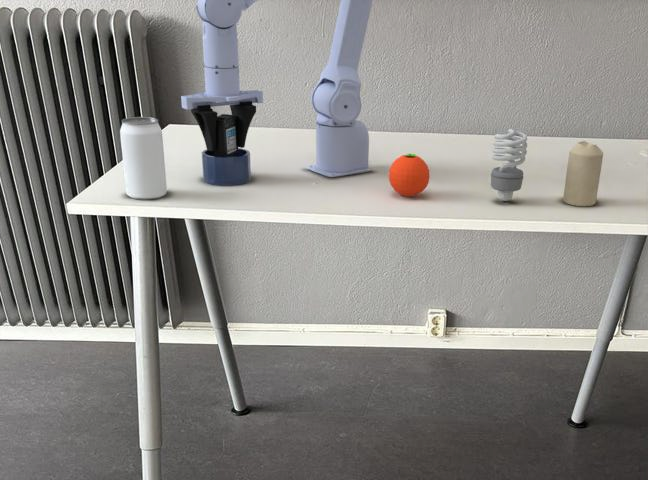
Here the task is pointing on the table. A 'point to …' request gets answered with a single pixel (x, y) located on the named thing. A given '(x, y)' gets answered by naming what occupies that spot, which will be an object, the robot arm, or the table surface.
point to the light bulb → (508, 164)
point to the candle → (583, 174)
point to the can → (143, 158)
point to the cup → (226, 168)
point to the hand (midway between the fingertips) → (225, 148)
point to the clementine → (409, 175)
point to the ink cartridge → (226, 136)
